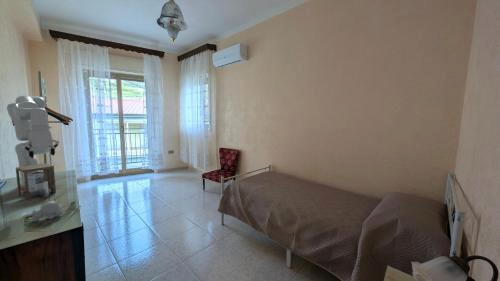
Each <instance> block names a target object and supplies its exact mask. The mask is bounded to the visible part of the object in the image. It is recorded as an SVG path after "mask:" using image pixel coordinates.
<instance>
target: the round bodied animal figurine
mask: <svg viewBox="0 0 500 281" xmlns="http://www.w3.org/2000/svg"><path fill="white" fill-rule="evenodd" d="M40 206H41V207H40V208H39V209H38V210H36V209H34V210H33V211H32V216H31V217H30V216H29V217H28V219H29V220H30V221H31V222H33V223H34V222H38V221H39V219H41V218H43V217H44V216H46V217H47V219H48V220H49V221H50V220H53V219H55V218H56V216H57V217H58V216H61V215H62V214H63V208H62V207H60V204H59V203H58V202H57V201H54V200H50V201H46V202H44V203H43V204H42V205H40Z"/></svg>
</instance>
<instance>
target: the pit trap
mask: <svg viewBox="0 0 500 281" xmlns="http://www.w3.org/2000/svg"><path fill="white" fill-rule="evenodd" d="M23 190H26V187H22V188H21V195H24V193H23ZM16 192H17V193H18V188H16Z"/></svg>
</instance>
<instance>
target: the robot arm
mask: <svg viewBox="0 0 500 281" xmlns="http://www.w3.org/2000/svg"><path fill="white" fill-rule="evenodd" d="M45 100H46V99H44V98H43V97H42V96H32V95H20V96H18V97H16V98H15V100H14V101H15V102H11V103H9V104H7V106H6V110H7V113H8V115H9V117H10V119H11V120H12V122H13V125H14V131H15V137H16V139H17V140H18V141H19V142H21V143H18V144H16V145H15V146H14V150H15V151H14V152H15V153H16V156H17V160H18V161H17V162H18V167H23V166H30V165H37V164H38V160H37V159H36V158H35V156H38V155H46V154H48V153H49V152H50V155H51V156H55V154H56V151H55V150H56V148H57V147H58V146H59V144H60V141H58V140H55V139H53V136H52V133H51V129H52V126H49V122H48V121H49V120H48V116H49V115H48V111H47V110H46V109H45V108H46V105H47V104H46V101H45ZM34 172H39V171H33V172H27V174H29V173H34ZM19 177H20V186H21V188H26V187H25V177H24V172H21V171H19ZM28 187H29V186H28Z"/></svg>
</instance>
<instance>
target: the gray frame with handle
mask: <svg viewBox="0 0 500 281" xmlns="http://www.w3.org/2000/svg"><path fill="white" fill-rule="evenodd" d="M42 183H43V190H40V191H35V192H29V197H30V198H35V197H39V196H40V197H42V198H44V199H45V198H49V196H50V194H51V193H52V192H51V188H49V187H48V181H44V182H42ZM23 193H24V194H23V196H26V190H23Z"/></svg>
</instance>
